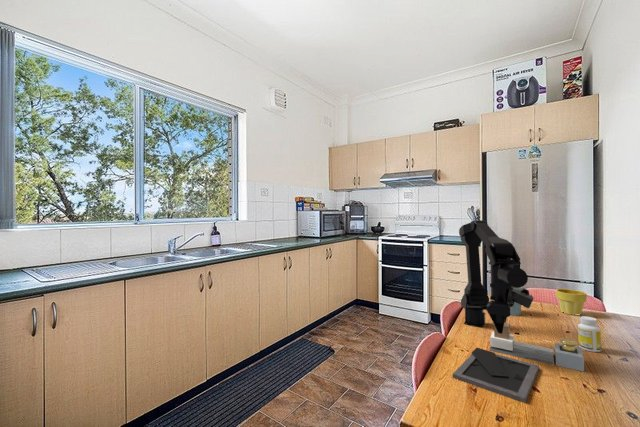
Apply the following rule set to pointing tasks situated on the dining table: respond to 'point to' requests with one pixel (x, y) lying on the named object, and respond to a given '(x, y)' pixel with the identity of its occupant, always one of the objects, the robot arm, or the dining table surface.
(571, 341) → the button
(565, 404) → the dining table surface
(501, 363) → the picture frame
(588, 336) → the supplement bottle
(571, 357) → the grey notched block
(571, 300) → the plant pot
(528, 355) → the rail
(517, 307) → the teal embossed planter
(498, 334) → the carriage
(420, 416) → the dining table surface
